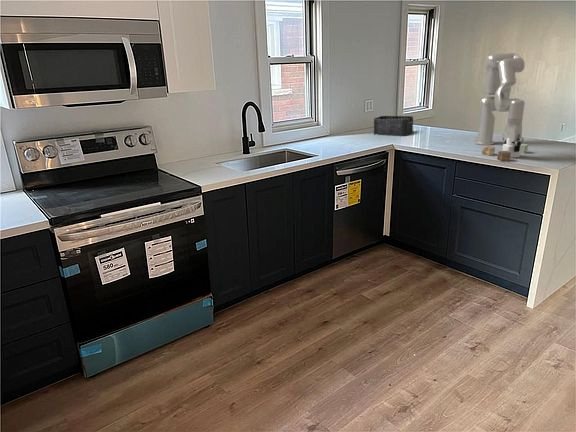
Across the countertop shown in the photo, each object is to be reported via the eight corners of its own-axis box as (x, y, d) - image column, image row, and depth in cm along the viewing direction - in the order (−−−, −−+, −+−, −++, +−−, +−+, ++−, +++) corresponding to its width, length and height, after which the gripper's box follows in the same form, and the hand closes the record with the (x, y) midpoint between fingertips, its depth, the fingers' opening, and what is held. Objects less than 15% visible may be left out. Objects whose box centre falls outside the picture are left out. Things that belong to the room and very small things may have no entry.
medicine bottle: (512, 154, 259) (515, 135, 254) (519, 157, 252) (522, 137, 248) (501, 155, 259) (503, 136, 254) (507, 158, 252) (510, 138, 248)
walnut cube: (497, 159, 251) (498, 151, 249) (505, 159, 251) (506, 150, 249) (501, 161, 246) (502, 153, 244) (509, 160, 246) (510, 152, 244)
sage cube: (515, 152, 264) (516, 144, 262) (518, 151, 267) (519, 143, 265) (523, 153, 260) (524, 145, 259) (527, 152, 263) (528, 144, 262)
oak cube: (481, 154, 264) (482, 146, 263) (487, 153, 266) (488, 145, 265) (488, 155, 260) (489, 147, 258) (494, 154, 262) (495, 146, 260)
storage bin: (372, 134, 350) (372, 118, 345) (381, 131, 365) (381, 115, 360) (405, 136, 334) (406, 119, 330) (413, 132, 349) (414, 116, 344)
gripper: (499, 120, 255) (496, 148, 261) (519, 124, 239) (515, 153, 245) (510, 119, 256) (507, 147, 262) (531, 123, 240) (526, 152, 247)
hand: (511, 150), depth 254 cm, fingers open, 9 cm apart
